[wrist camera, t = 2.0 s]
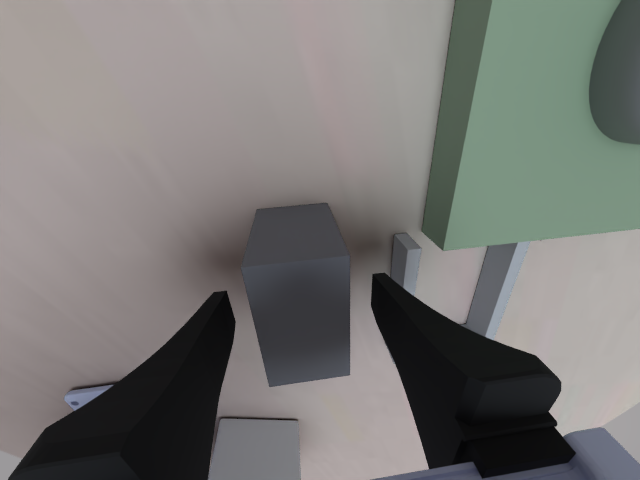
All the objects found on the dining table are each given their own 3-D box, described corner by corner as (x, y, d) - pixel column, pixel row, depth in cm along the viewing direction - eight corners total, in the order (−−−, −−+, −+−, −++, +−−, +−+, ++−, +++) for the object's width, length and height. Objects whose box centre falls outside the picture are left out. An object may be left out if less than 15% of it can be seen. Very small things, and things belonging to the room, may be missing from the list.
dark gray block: (331, 296, 18) (349, 375, 13) (274, 303, 18) (269, 387, 12) (326, 202, 15) (349, 255, 10) (257, 208, 15) (240, 267, 9)
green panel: (583, 314, 22) (667, 372, 17) (384, 341, 21) (414, 413, 16) (818, -97, 11) (1231, -254, 6) (424, -97, 10) (564, -300, 5)
